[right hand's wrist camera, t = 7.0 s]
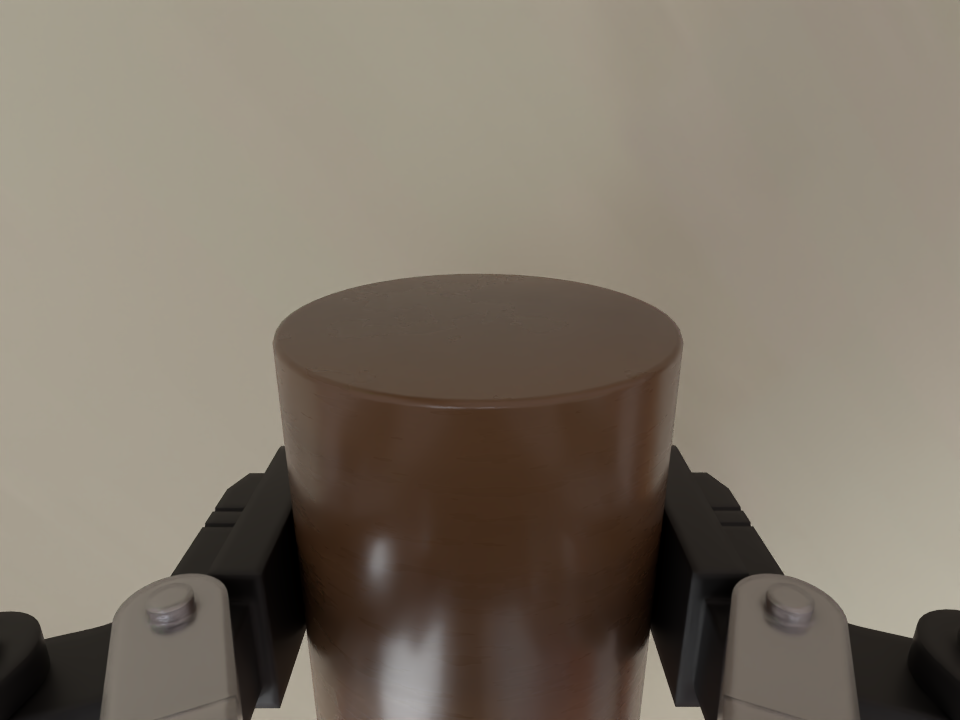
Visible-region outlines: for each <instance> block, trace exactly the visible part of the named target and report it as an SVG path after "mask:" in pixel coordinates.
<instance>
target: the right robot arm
mask: <svg viewBox="0 0 960 720" xmlns="http://www.w3.org/2000/svg"><path fill="white" fill-rule="evenodd" d="M650 629H651V632H652V635H653V638H654V642H655V645H656V648H657V651H658V654H659V657H660V660H661V663H662V666H663V669H664V673H665V676H666V679H667V682H668V685H669V688H670V691H671V694H672V697H673V700H674V704H675V707H701V710H702V713H703V715H704V718H705V720H960V611H959V610H947V609H945V610H936V611H932V612H929V613H927V614H925V615H923V616H922V617H921V618H920V619H919V622H918V624H917V627H916V630H915V634H914V637H913V638H908V637H904V636H899V635H895V634H890V633H886V632H881V631H877V630H873V629H868V628H864V627H860V626H856V625H852V624H849V623H848V622H847V618H846V616H845V614H844V612H843V610H842V609H841V607H840V606H839V605H838V604H837V603H836V602H835V601H834V600H833V599H832V598H831V597H830V596H829V595H827V594H826V593H825V592H823V591H822V590H820V589H818V588H817V587H815V586H813V585H811V584H809V583H807V582H804V581H802V580H799V579H796V578H793V577H789V576H785V575H784V574H783V572H782V571H781V569H780V567H779V566H778V564H777V563H776V561H775V560H774V558H773V557H772V555H771V553H770V552H769V550H768V549H767V547H766V546H765V544H764V543H763V541H762V539H761V538H760V536H759V535H758V533H757V532H756V530H755V529H754V527H753V526H751V525H750V521H749V519H748V518H747V516H746V515H745V513H744V512H743V511H741V507H740V505H739V504H738V502H737V501H736V499H735V498H734V496H733V494H732V493H731V491H730V490H729V488H727V487H726V486H724V485H723V484H722V483H720V482H719V481H718V480H716V479H715V478H713V477H712V476H711V475H709V474H708V473H691V471H690V469H689V467H688V466H687V464H686V462H685V460H684V459H683V457H682V455H681V453H680V452H679V450H678V448H677V447H676V446H675V445H671V453H670V462H669V471H668V479H667V488H666V496H665V505H664V514H663V522H662V531H661V539H660V548H659V557H658V565H657V574H656V582H655V591H654V600H653V608H652V617H651V625H650ZM305 630H306V621H305V613H304V604H303V596H302V587H301V579H300V570H299V562H298V553H297V545H296V536H295V528H294V519H293V511H292V502H291V494H290V485H289V477H288V468H287V460H286V452H285V446H281V447H280V448H279V449H278V451H277V453H276V454H275V456H274V458H273V460H272V461H271V463H270V465H269V467H268V468H267V470H266V472H265V473H249V474H248V475H247V476H245V477H244V478H242V479H241V480H240V481H238V482H237V483H235V484H234V485H233V486H231V487H230V488H229V489H227V491H226V492H225V494H224V495H223V497H222V498H221V500H220V501H219V503H218V504H217V506H216V508H215V512H212V514H211V515H210V517H209V518H208V520H207V521H206V523H205V527H202V529H201V530H200V532H199V534H198V535H197V537H196V538H195V540H194V541H193V543H192V544H191V546H190V547H189V549H188V550H187V552H186V553H185V555H184V557H183V558H182V560H181V561H180V563H179V564H178V566H177V567H176V569H175V570H174V572H173V573H172V575H171V576H170V577H167V578H164V579H161V580H158V581H156V582H153V583H151V584H149V585H147V586H145V587H143V588H142V589H140V590H138V591H137V592H135V593H134V594H133V595H131V596H130V597H129V598H128V599H127V600H126V601H125V602H124V603H123V604H122V605H121V606H120V607H119V609H118V610H117V612H116V614H115V616H114V618H113V622H112V623H109V624H106V625H104V626H100V627H96V628H92V629H88V630H84V631H79V632H75V633H70V634H66V635H61V636H57V637H52V638H48V639H44V637H43V634H42V630H41V627H40V625H39V622H38V621H37V620H36V619H35V618H34V617H33V616H31V615H29V614H26V613H22V612H0V720H251V717H252V714H253V712H254V709H255V708H280V706H281V703H282V700H283V697H284V694H285V691H286V688H287V685H288V682H289V679H290V676H291V673H292V670H293V667H294V664H295V661H296V658H297V655H298V652H299V649H300V646H301V643H302V640H303V637H304V634H305Z"/></svg>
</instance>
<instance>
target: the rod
mask: <svg viewBox="0 0 960 720" xmlns="http://www.w3.org/2000/svg"><path fill="white" fill-rule="evenodd" d="M273 350H274V358H275V367H276V375H277V384H278V392H279V401H280V409H281V418H282V426H283V435H284V443H285V452H286V460H287V468H288V477H289V485H290V494H291V502H292V511H293V519H294V528H295V536H296V545H297V553H298V562H299V570H300V579H301V587H302V596H303V604H304V613H305V621H306V630H307V638H308V647H309V655H310V663H311V672H312V680H313V689H314V697H315V706H316V714H317V720H640V711H641V703H642V694H643V686H644V677H645V668H646V660H647V651H648V643H649V634H650V625H651V617H652V608H653V600H654V591H655V582H656V574H657V565H658V557H659V548H660V539H661V531H662V522H663V514H664V505H665V496H666V488H667V479H668V471H669V462H670V453H671V445H672V436H673V428H674V419H675V410H676V402H677V393H678V385H679V376H680V367H681V359H682V350H683V339H682V336H681V332H680V329H679V328H678V326H677V325H676V323H675V322H674V321H673V320H672V319H671V318H670V317H669V316H668V315H666V314H665V313H664V312H662V311H660V310H659V309H657V308H656V307H654V306H652V305H650V304H648V303H646V302H644V301H641V300H639V299H636V298H634V297H631V296H628V295H626V294H623V293H619V292H616V291H613V290H610V289H606V288H602V287H598V286H593V285H589V284H584V283H578V282H573V281H566V280H560V279H553V278H544V277H534V276H522V275H503V274H453V275H435V276H422V277H413V278H404V279H397V280H390V281H384V282H378V283H373V284H368V285H363V286H359V287H355V288H351V289H347V290H344V291H340V292H337V293H334V294H331V295H328V296H325V297H323V298H320V299H318V300H315V301H313V302H311V303H309V304H307V305H305V306H302V307H301V308H299V309H297V310H296V311H294V312H293V313H291V314H290V315H289V316H288V317H287V318H285V319H284V320H283V321H282V322H281V324H280V325H279V327H278V328H277V330H276V333H275V336H274V340H273Z"/></svg>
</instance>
